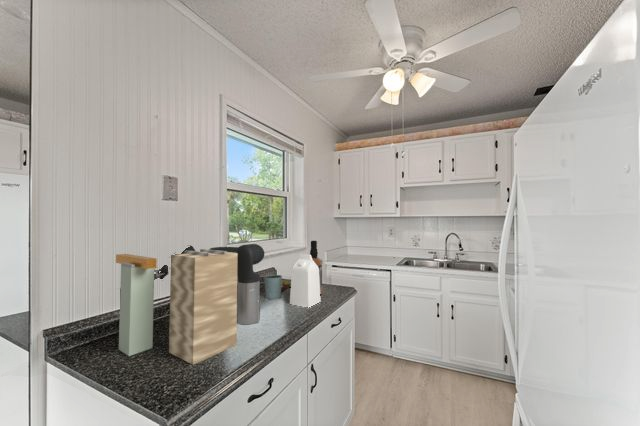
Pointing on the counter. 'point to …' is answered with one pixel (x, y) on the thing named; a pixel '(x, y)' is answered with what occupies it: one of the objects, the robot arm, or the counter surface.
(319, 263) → the whiskey bottle
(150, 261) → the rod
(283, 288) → the gavel
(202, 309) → the stand
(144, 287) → the grooved green pillar
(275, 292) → the teal cup
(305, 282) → the milk
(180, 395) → the counter surface
